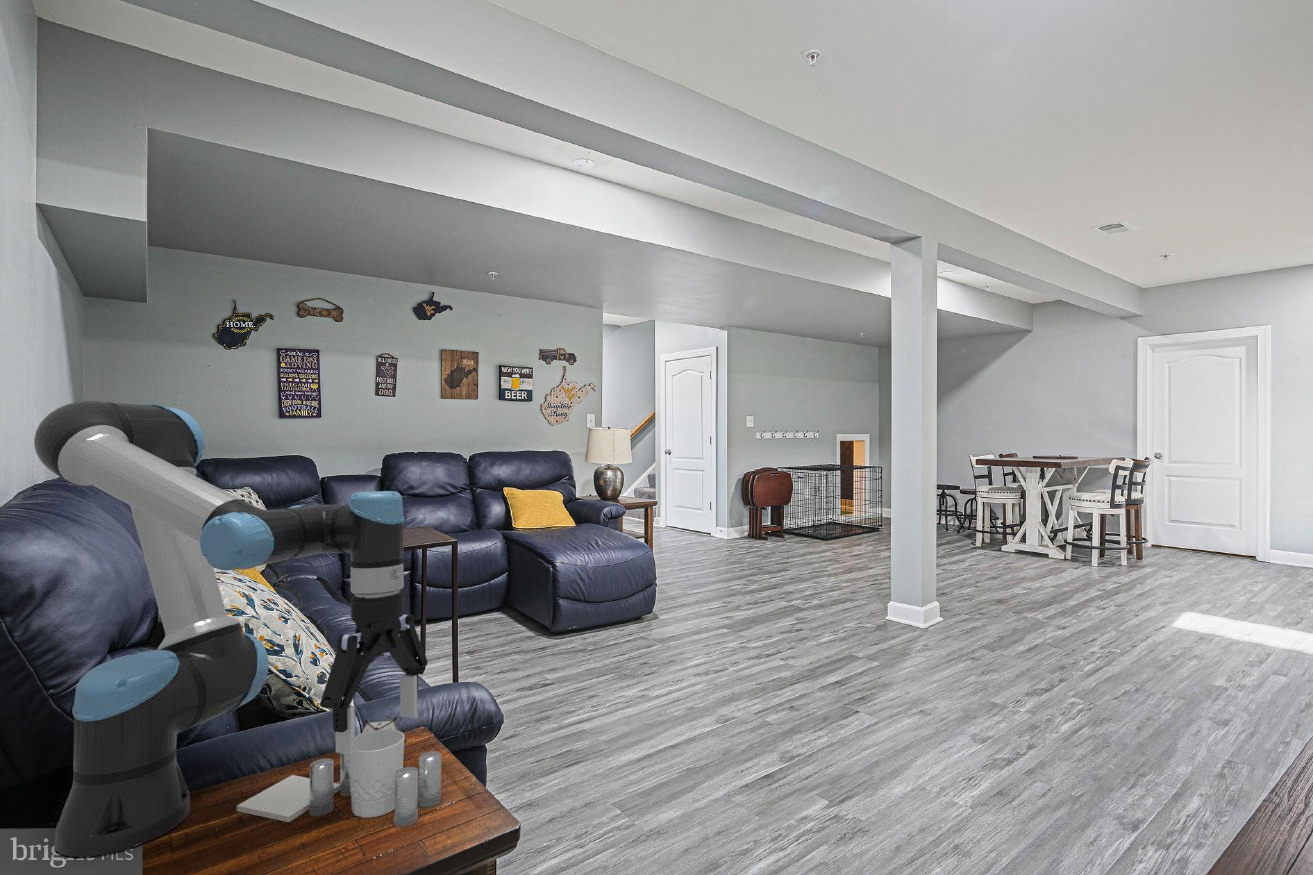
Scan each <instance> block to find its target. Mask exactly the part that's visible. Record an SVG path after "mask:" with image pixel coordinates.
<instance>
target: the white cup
mask: <svg viewBox="0 0 1313 875" xmlns="http://www.w3.org/2000/svg"><path fill="white" fill-rule="evenodd" d="M398 730H399V729H398ZM398 730H392V729H382V730H375V731H370V732H366V733H363V734H361V733H360V734H358V735H355V753H353V754H351V755H350V754H349V777H350V791H351V795H352V796H350V797H351V800H350V801H351V812H352V813H353V815H354V816H357V817H360V818H361V819H362V818H368V819H369V818H377V817H380V816H384V815H387V814H388V813H391V812H393V811H394V774H395V772H396V771H397V770H399V769H401V768H404V753H405V743H404V740H405V734H404V733H403V731H400V730H399V731H398Z"/></svg>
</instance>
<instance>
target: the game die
mask: <svg viewBox="0 0 1313 875" xmlns="http://www.w3.org/2000/svg"><path fill="white" fill-rule="evenodd" d="M397 720H398V715H396V716H394V717H393V719H392V720H381V721H370V722H369V720H368V719H367V718H364V723H365V726H364V727H363V729H362V732H361V733H360V734H363V733H366V732H370V731H375V730H382V729H392V730H398V731H400V730H399V728H398V725H397V723H396V721H397ZM407 742H408V740H407V739H405V738H404V744H406V743H407Z"/></svg>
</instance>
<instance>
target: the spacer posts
mask: <svg viewBox="0 0 1313 875" xmlns="http://www.w3.org/2000/svg"><path fill="white" fill-rule="evenodd" d="M339 755H340V760H339V761H340V762H339V763H340V765H339V766H340V768H339V769H340V770H339V771H340V772H339V773H340V774H339V778H340V779H339V784H340V790H339V794H340V796H342V797H351V796H352V795H351V791H350V777H349V754H343V753H339ZM334 767H335V765H334V759H333V758H328V757H327V758H326V757H325V758H320V759H316V760H314V761H312V762H310V764H309V778H310V803H309V810H308V811H309V815H310V816H312V817H322V816H325V815H328V814H330V813H331V812H333V810H334V794H333V784H334V783H335V782H334V781H335V780H334V770H335V769H334ZM441 802H442V753H441V752H440V751H437V750H431V751H426V752H423V753H421V754H420V755H418V768H417V767H415V766H406V767H403V768H401V769H399V770H397V771H396V772H395V774H394V810H393V811H394V812H393V814H394V815H393V816H394V818H393V823H394V825H395V826H396V827H399V828H403V827H404V828H405V827H410V826H412V825H414V824H415V823H417V821H418V819H419V818H418V817H419V815H418V814H419V812H418V811H419V808H418V806H419V807H421V808H433V807H435V806H437V805H438V806H439V804H440V803H441Z"/></svg>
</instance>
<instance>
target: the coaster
mask: <svg viewBox="0 0 1313 875" xmlns="http://www.w3.org/2000/svg"><path fill="white" fill-rule="evenodd" d="M338 792H340V783H337V782H334V784H333V795H335V794H337V793H338ZM309 803H310V777H305V776H300V775H295V774H291V775H290V776H288V777H286V778H284V779H283V780H280V781H279V782H277V783H275V784H273V785H271V786H269V787H268V788H266V789H265V790H263V791H261V792H259V793H257V794H255V795H253V796H252V797H250V798H248V799H246V800H244V801H243V802H240V803H238V804H237V805H236V812H239V813H243V814H248V815H253V816H258V817H263V818H266V819H267V818H268V819H272V820H277V821H281V822H285V823H290V822H291V821H293V820H295V819H297V818H298V817H299V816H301V815H302V814H304V813H305V812H308V811H309Z"/></svg>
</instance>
